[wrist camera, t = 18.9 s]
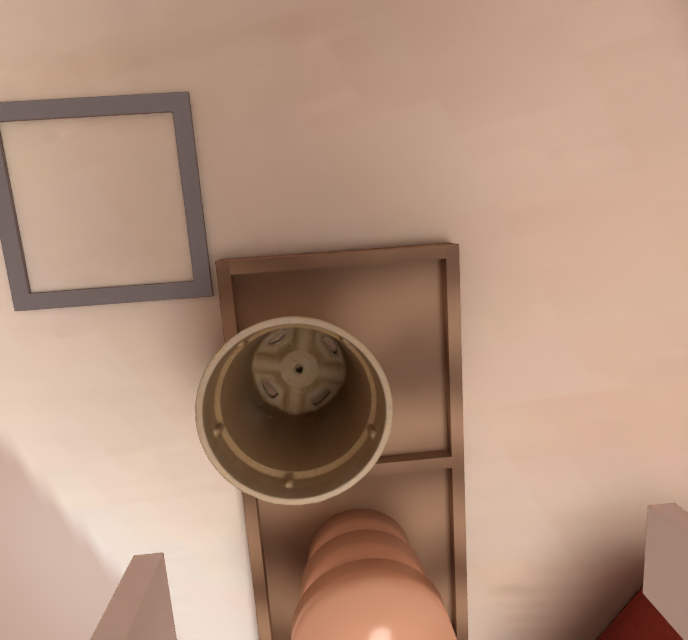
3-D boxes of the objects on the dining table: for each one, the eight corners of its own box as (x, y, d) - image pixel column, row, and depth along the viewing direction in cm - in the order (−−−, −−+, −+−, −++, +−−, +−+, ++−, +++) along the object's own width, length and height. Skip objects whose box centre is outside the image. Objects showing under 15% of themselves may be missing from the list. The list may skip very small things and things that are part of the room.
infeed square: (-24, 104, 30) (-27, 103, 30) (188, 92, 30) (187, 91, 30) (17, 310, 32) (14, 311, 32) (213, 295, 33) (212, 296, 33)
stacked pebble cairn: (288, 503, 35) (282, 599, 26) (420, 490, 36) (457, 580, 27) (299, 618, 37) (297, 744, 28) (425, 604, 38) (461, 724, 29)
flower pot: (196, 394, 33) (159, 452, 25) (268, 265, 32) (254, 280, 24) (325, 460, 35) (331, 536, 26) (398, 338, 33) (429, 377, 25)
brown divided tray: (220, 259, 32) (215, 262, 31) (450, 242, 33) (459, 244, 32) (264, 647, 38) (263, 668, 36) (460, 625, 39) (468, 644, 37)
